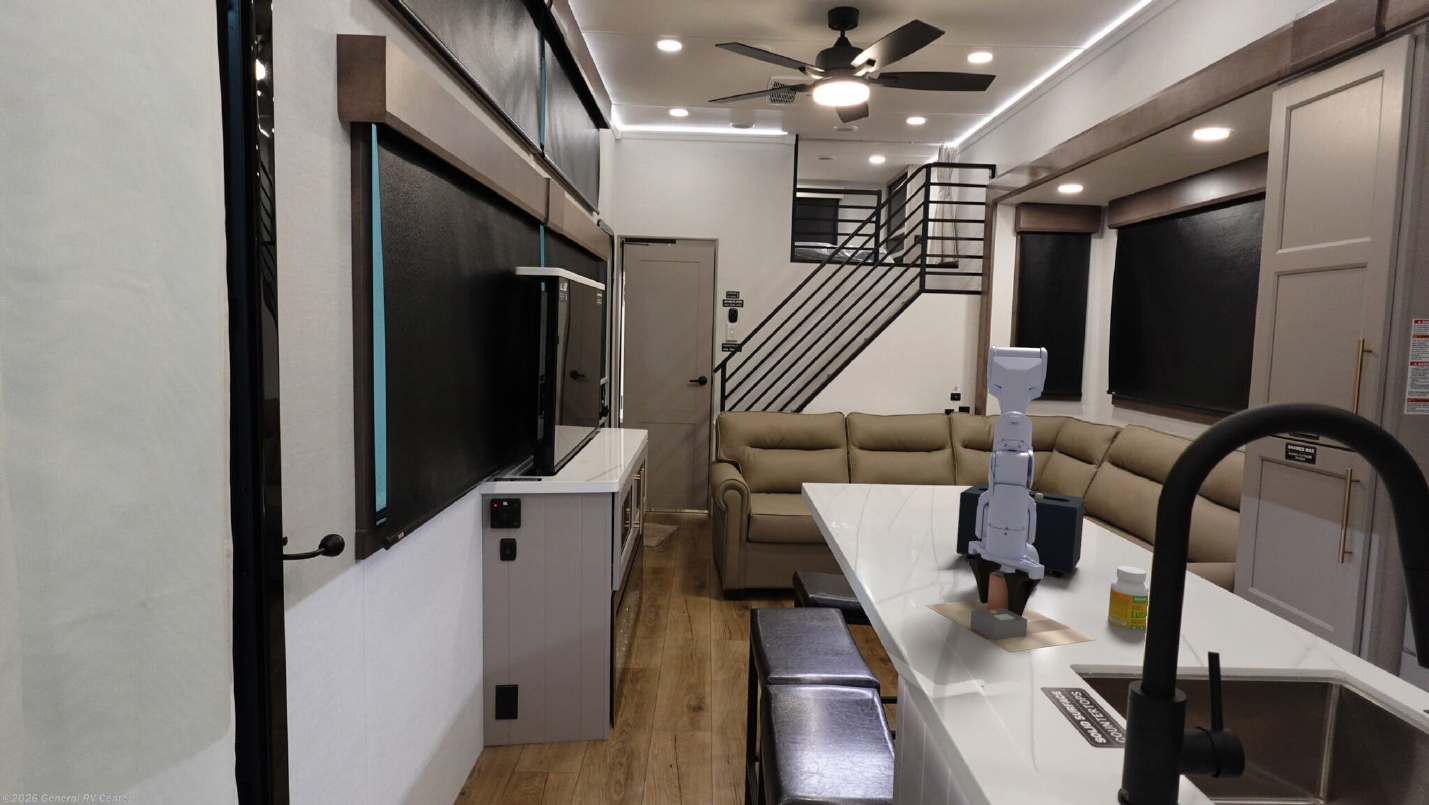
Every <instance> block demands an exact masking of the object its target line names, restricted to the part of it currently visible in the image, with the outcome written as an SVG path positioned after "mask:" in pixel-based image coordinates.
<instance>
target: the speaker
mask: <svg viewBox="0 0 1429 805" xmlns="http://www.w3.org/2000/svg"><path fill="white" fill-rule="evenodd" d="M988 490H989V484H982V483H975V484H974V485H972V486H969V487H968V488H966V489H965V490H963V491H961V492H960V493H959V505H958V509H959V510H958V522H957V523H958V524H957V538H956V551H955V552H956V554H959V555H964V556H966V558H967V561H969V559H971V558H975V557H976V554H970V553H968V552H969V542H972V541H980V542H982V535H981V539H980V538H978V536H976V535H975V531H976V517H977V506H978V502H979V497H980V496H981V494H982V493H984V492H986V491H988ZM1029 496H1030V497H1031V498H1032V499H1034V501H1035V503H1036V531H1035V540H1034V542H1033V543H1032V544H1031V545H1032V546H1033V547H1034V548H1035V549H1036V551H1037V553H1038V557H1039V564H1041V565H1043V566H1044V571H1045V570H1047V571H1051V574H1052V576H1054V577H1057V578H1062V577H1063V576H1064V574H1068V575H1071V574H1072V573H1073V572H1074V571H1075V569H1076V567H1077V564H1078V563H1079V561H1080V560H1081V552H1082V539H1083V528H1084V515H1085V502H1086V498H1084V497H1081V496H1074V495H1066V494H1058V493H1050V492H1044V491H1036V490H1029ZM983 515H984V513H983ZM982 532H983V527H982Z"/></svg>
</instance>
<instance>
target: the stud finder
mask: <svg viewBox="0 0 1429 805" xmlns="http://www.w3.org/2000/svg"><path fill="white" fill-rule="evenodd" d="M970 628H972V629H974V630H976V631H977V632H979V633H981V634H983V635H985V636H987V637H989V638H990V639H992V640H1000V639H1007V638H1015V637H1022V636H1026V631H1027V619H1025V618H1023V617H1021V616H1019V615H1017V614H1015V613H1013V612H1011V611H1009V610H1007V609H1004V608H997V609H988V610H980V611H971V624H970Z"/></svg>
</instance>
